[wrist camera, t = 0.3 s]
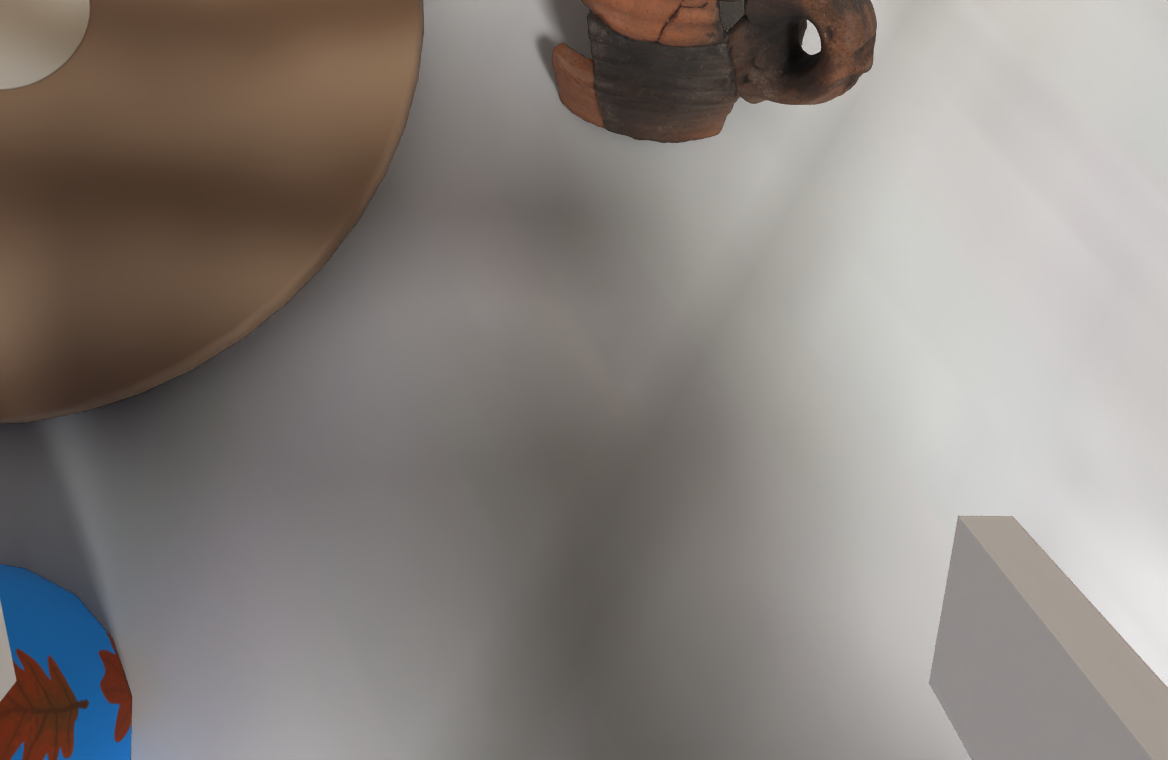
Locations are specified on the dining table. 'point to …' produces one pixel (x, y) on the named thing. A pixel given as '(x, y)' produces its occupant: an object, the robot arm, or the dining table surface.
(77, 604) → the thermos
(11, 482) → the dining table surface
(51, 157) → the disc
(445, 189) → the dining table surface
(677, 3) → the pottery mug
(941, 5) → the dining table surface
